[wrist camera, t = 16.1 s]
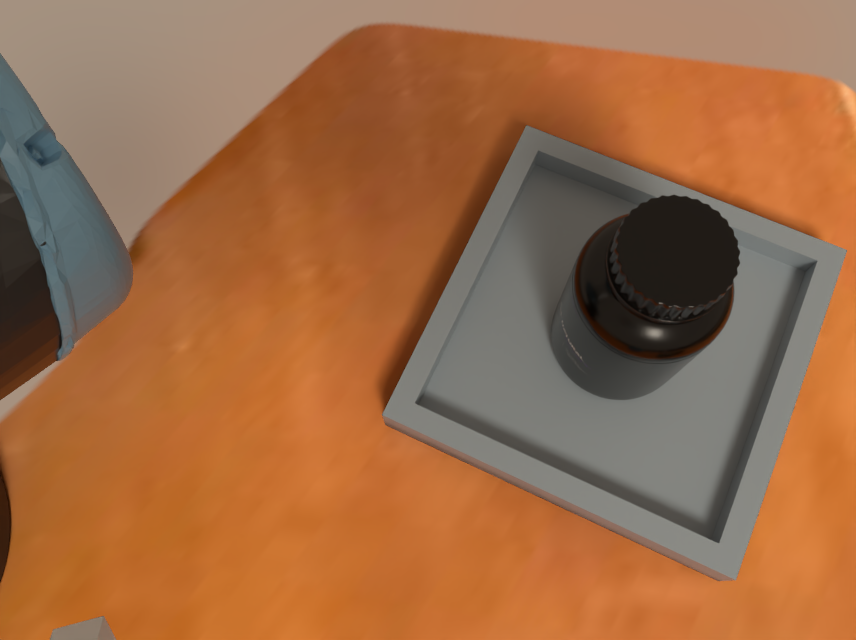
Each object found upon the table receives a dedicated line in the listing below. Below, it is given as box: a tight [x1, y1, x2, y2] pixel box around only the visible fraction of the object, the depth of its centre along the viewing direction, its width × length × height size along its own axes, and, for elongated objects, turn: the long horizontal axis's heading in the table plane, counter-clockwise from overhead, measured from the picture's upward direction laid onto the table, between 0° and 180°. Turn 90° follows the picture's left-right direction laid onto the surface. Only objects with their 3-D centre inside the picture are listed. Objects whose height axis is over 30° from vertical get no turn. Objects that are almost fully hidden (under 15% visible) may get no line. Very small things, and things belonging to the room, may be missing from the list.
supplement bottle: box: [551, 195, 740, 400], centre depth 36 cm, size 7×7×12 cm
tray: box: [382, 125, 847, 581], centre depth 42 cm, size 18×18×2 cm
